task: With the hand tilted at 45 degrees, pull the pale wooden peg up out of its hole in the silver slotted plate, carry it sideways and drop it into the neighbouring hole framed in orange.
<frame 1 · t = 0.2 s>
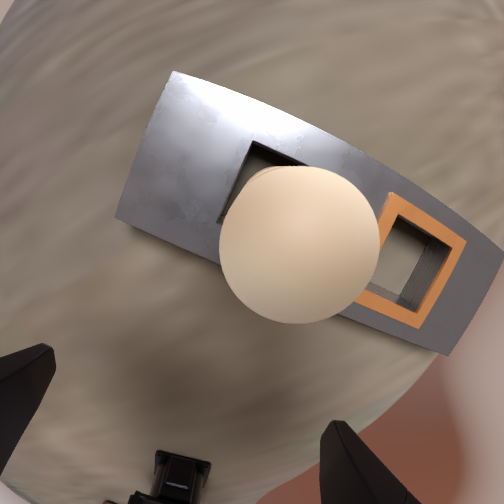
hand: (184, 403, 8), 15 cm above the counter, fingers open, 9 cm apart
peg: (273, 195, 21), resting in silver slotted plate
silver slotted plate: (336, 225, 21), on the counter
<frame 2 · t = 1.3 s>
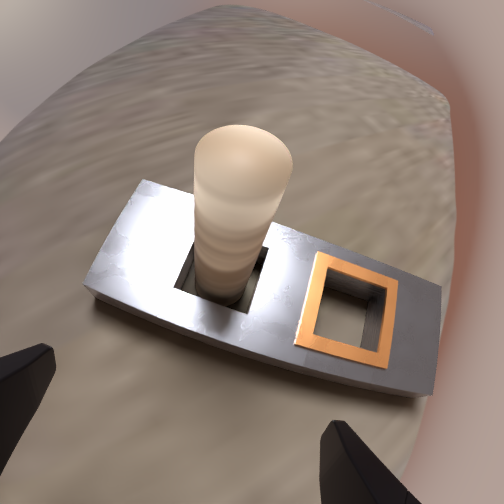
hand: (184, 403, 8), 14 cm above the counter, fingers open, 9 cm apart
peg: (220, 282, 24), resting in silver slotted plate
silver slotted plate: (279, 302, 24), on the counter
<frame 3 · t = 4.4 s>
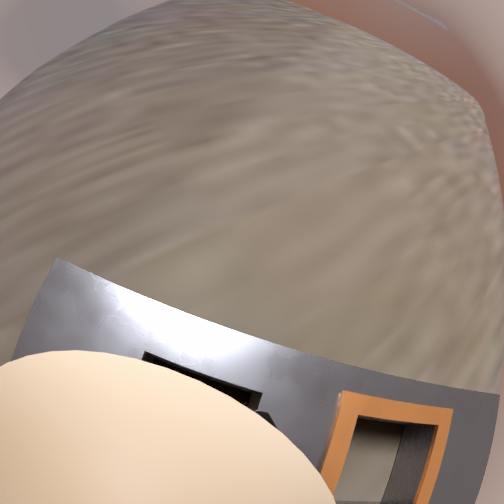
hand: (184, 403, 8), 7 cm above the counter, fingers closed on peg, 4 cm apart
peg: (186, 422, 14), resting in silver slotted plate, touching gripper
silver slotted plate: (278, 449, 14), on the counter
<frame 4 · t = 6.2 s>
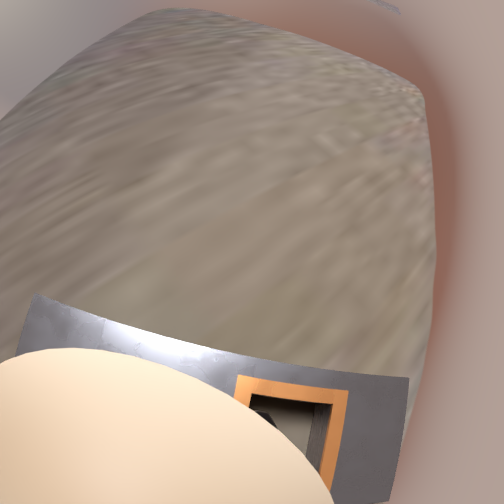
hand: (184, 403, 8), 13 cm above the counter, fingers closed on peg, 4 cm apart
peg: (186, 422, 14), point 6 cm above the counter, touching gripper
silver slotted plate: (204, 421, 19), on the counter
when the fingers open (8 cm above the counter, at t = 8.3 s): peg stays where it is, resting in silver slotted plate.
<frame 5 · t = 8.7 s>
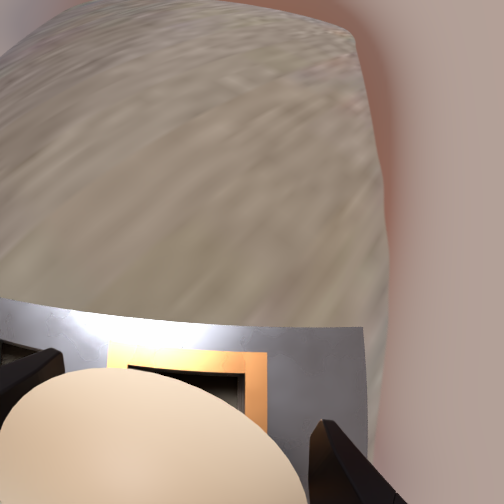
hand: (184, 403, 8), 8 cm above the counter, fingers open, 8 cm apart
peg: (187, 422, 15), resting in silver slotted plate
silver slotted plate: (100, 409, 14), on the counter
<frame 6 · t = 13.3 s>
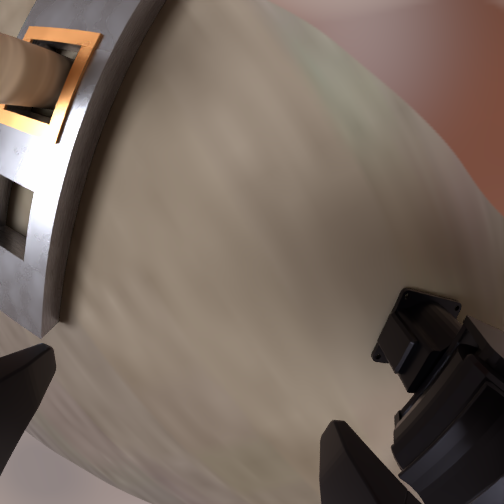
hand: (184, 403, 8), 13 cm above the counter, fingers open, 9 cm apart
peg: (64, 85, 17), resting in silver slotted plate
silver slotted plate: (42, 147, 18), on the counter
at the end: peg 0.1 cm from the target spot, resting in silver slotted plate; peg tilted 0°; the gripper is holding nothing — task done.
